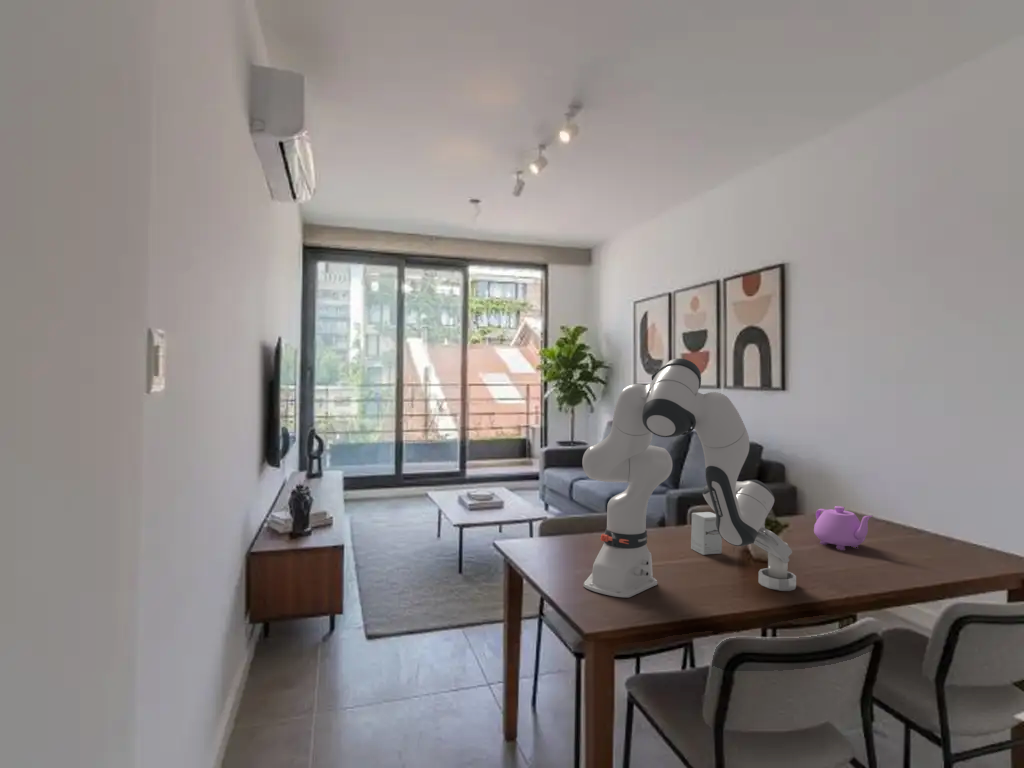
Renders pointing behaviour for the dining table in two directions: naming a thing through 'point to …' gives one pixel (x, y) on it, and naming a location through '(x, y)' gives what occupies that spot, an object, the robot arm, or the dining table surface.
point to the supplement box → (705, 534)
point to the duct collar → (777, 581)
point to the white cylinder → (777, 567)
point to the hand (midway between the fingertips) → (779, 557)
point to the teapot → (840, 527)
